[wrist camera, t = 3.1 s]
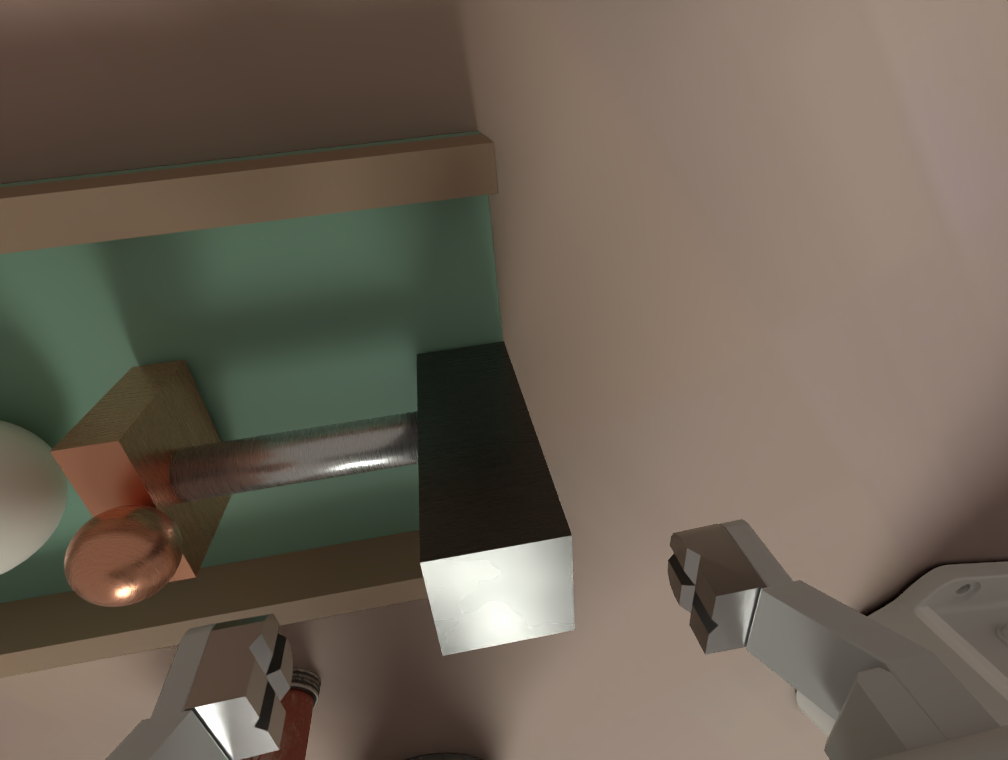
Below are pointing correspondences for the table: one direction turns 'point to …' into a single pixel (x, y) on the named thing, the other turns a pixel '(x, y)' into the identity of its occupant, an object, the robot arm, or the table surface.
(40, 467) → the ball
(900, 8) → the table surface
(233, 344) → the pitch
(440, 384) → the rod
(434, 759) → the thermos
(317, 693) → the lighter
